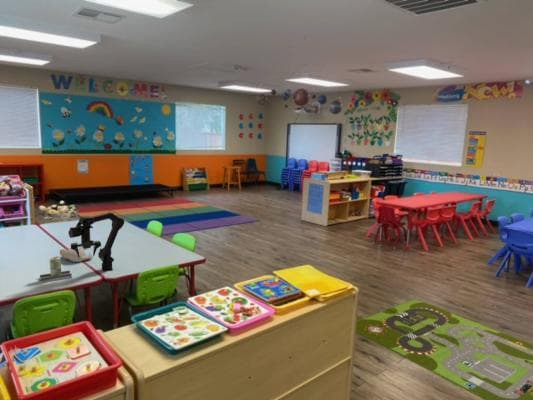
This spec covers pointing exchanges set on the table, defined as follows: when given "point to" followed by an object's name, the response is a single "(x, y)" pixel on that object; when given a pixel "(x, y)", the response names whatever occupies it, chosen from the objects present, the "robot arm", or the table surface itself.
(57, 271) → the grey green block
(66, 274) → the door track
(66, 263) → the table surface
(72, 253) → the animal model
